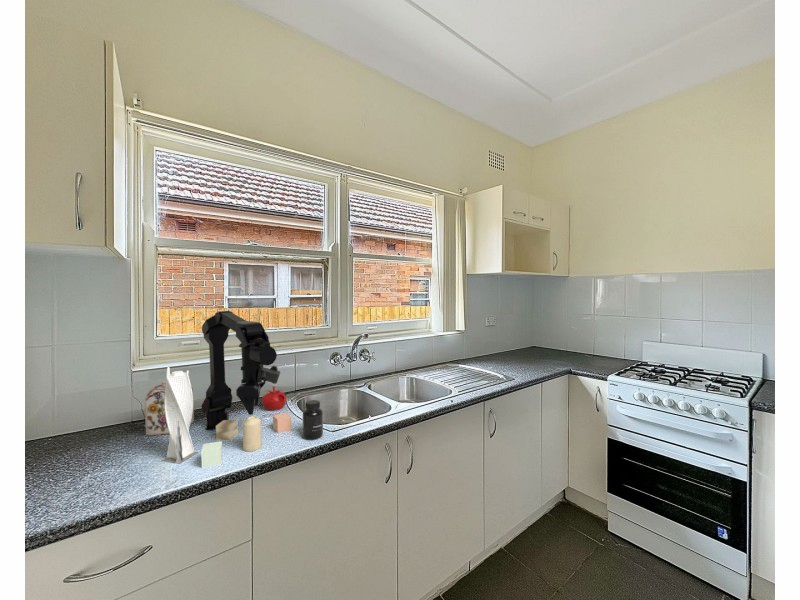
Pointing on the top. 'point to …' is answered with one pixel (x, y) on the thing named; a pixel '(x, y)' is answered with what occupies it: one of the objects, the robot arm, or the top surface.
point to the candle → (252, 434)
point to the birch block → (227, 430)
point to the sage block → (211, 454)
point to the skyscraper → (178, 416)
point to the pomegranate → (274, 400)
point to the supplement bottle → (312, 420)
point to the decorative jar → (157, 411)
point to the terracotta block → (282, 422)
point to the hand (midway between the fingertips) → (253, 409)
